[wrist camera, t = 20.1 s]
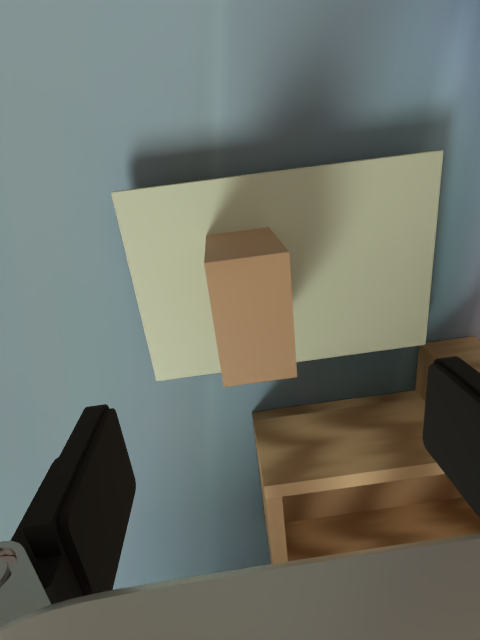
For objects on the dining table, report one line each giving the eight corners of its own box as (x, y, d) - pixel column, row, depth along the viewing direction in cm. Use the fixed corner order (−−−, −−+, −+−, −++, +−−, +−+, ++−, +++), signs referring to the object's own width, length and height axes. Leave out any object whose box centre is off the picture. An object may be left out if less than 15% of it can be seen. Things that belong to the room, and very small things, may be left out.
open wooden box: (265, 523, 33) (280, 626, 26) (246, 366, 27) (259, 445, 19) (465, 494, 33) (537, 589, 26) (494, 333, 27) (599, 398, 20)
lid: (161, 361, 27) (140, 446, 19) (121, 189, 22) (71, 206, 14) (407, 328, 27) (487, 398, 19) (419, 151, 22) (531, 147, 14)
